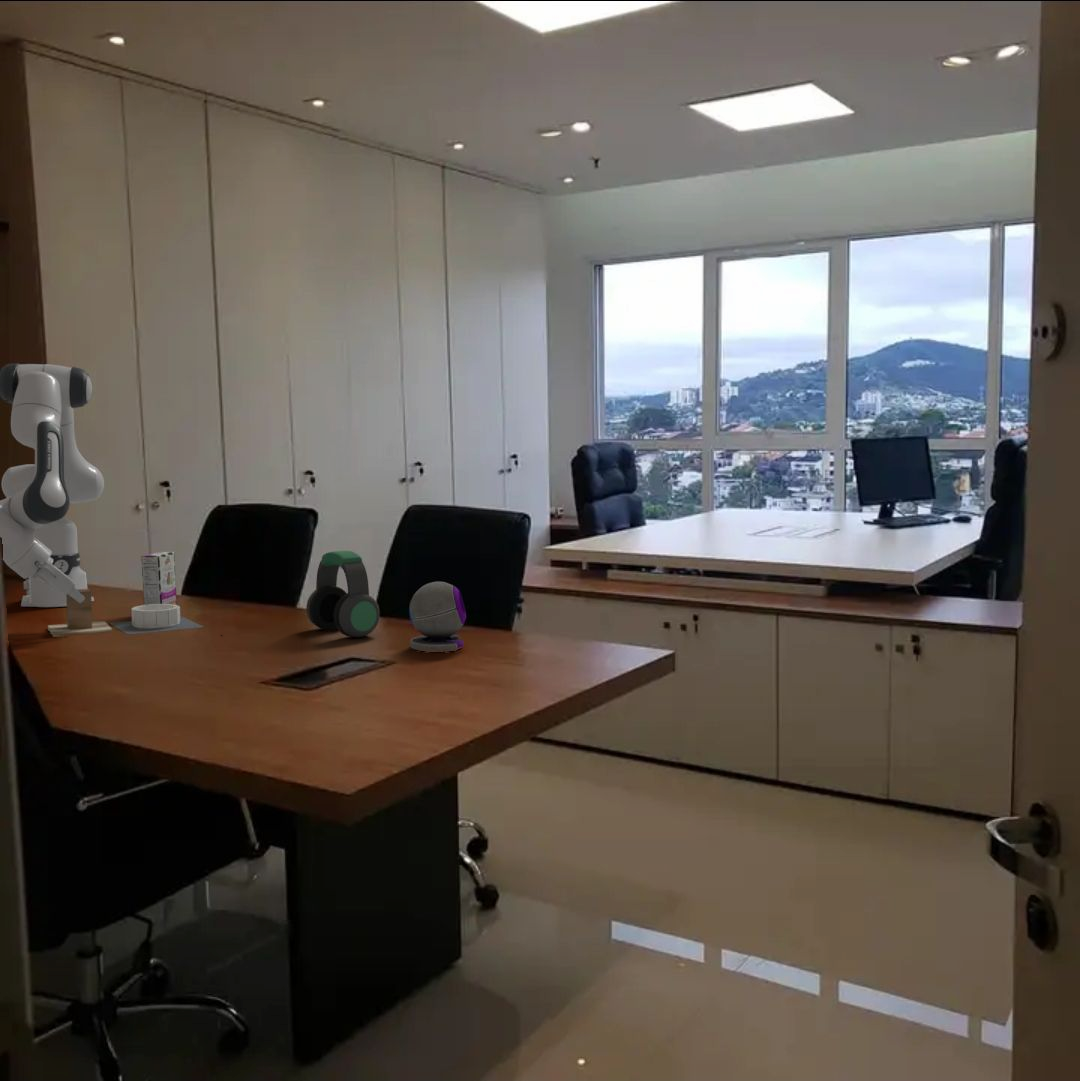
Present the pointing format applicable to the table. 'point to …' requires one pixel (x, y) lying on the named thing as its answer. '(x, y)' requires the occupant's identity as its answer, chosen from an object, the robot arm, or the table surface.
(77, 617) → the lid
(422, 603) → the webcam
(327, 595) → the headphones
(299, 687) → the table surface
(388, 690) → the table surface
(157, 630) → the mat
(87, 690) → the table surface
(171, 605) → the bowl
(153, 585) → the candy bar box
